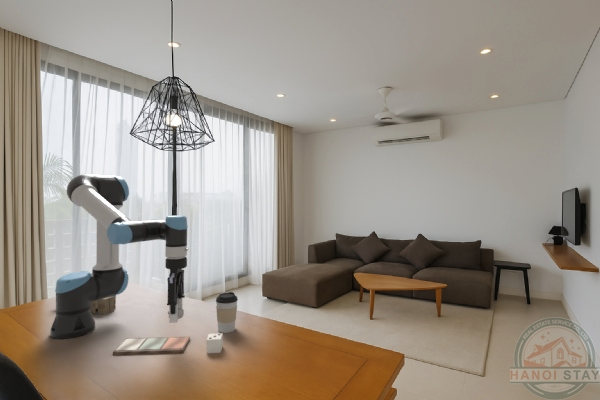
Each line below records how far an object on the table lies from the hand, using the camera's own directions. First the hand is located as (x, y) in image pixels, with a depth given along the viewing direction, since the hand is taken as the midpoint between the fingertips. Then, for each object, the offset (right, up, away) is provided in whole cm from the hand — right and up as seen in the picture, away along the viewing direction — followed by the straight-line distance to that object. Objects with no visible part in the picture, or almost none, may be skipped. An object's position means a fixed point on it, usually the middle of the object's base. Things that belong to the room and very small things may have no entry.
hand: (176, 318), depth 122 cm
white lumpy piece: (0, 0, 0) cm, 0 cm away
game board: (-8, -10, -1) cm, 13 cm away
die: (+15, -11, -2) cm, 19 cm away
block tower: (-58, -9, +38) cm, 70 cm away
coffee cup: (+15, -10, +16) cm, 24 cm away
